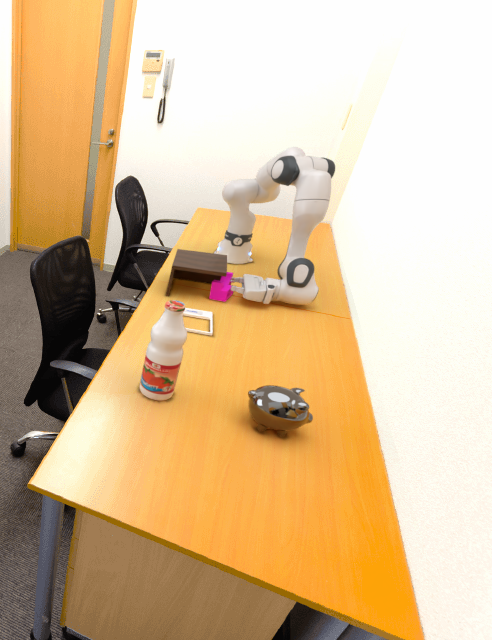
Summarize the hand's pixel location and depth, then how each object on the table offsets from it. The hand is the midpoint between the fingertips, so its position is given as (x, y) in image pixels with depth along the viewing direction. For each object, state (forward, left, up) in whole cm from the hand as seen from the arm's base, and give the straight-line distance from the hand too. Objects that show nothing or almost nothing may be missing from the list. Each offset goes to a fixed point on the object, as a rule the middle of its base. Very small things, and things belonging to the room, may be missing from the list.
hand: (230, 283), depth 176 cm
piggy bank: (+84, +11, -6) cm, 85 cm away
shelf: (0, -13, -6) cm, 14 cm away
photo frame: (+31, -12, -6) cm, 33 cm away
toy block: (0, -2, -5) cm, 6 cm away
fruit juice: (+81, -18, -6) cm, 83 cm away
